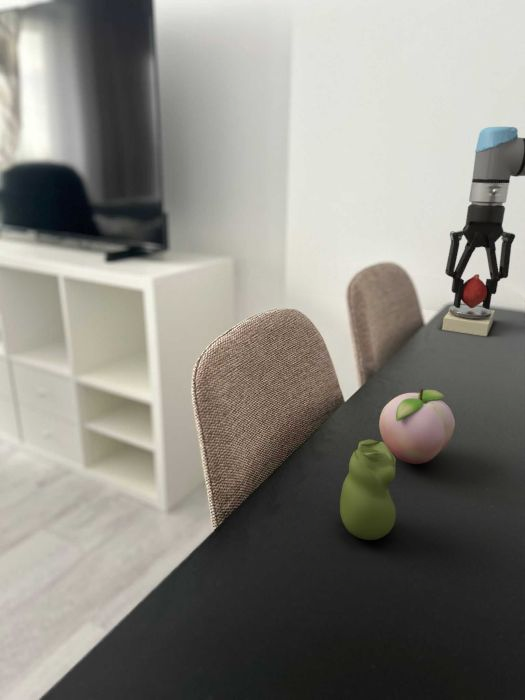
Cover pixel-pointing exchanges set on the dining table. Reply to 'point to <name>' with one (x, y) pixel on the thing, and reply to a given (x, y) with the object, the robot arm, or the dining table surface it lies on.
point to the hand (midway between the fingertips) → (471, 306)
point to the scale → (468, 324)
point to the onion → (474, 292)
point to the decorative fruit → (416, 426)
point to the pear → (369, 491)
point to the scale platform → (470, 311)
